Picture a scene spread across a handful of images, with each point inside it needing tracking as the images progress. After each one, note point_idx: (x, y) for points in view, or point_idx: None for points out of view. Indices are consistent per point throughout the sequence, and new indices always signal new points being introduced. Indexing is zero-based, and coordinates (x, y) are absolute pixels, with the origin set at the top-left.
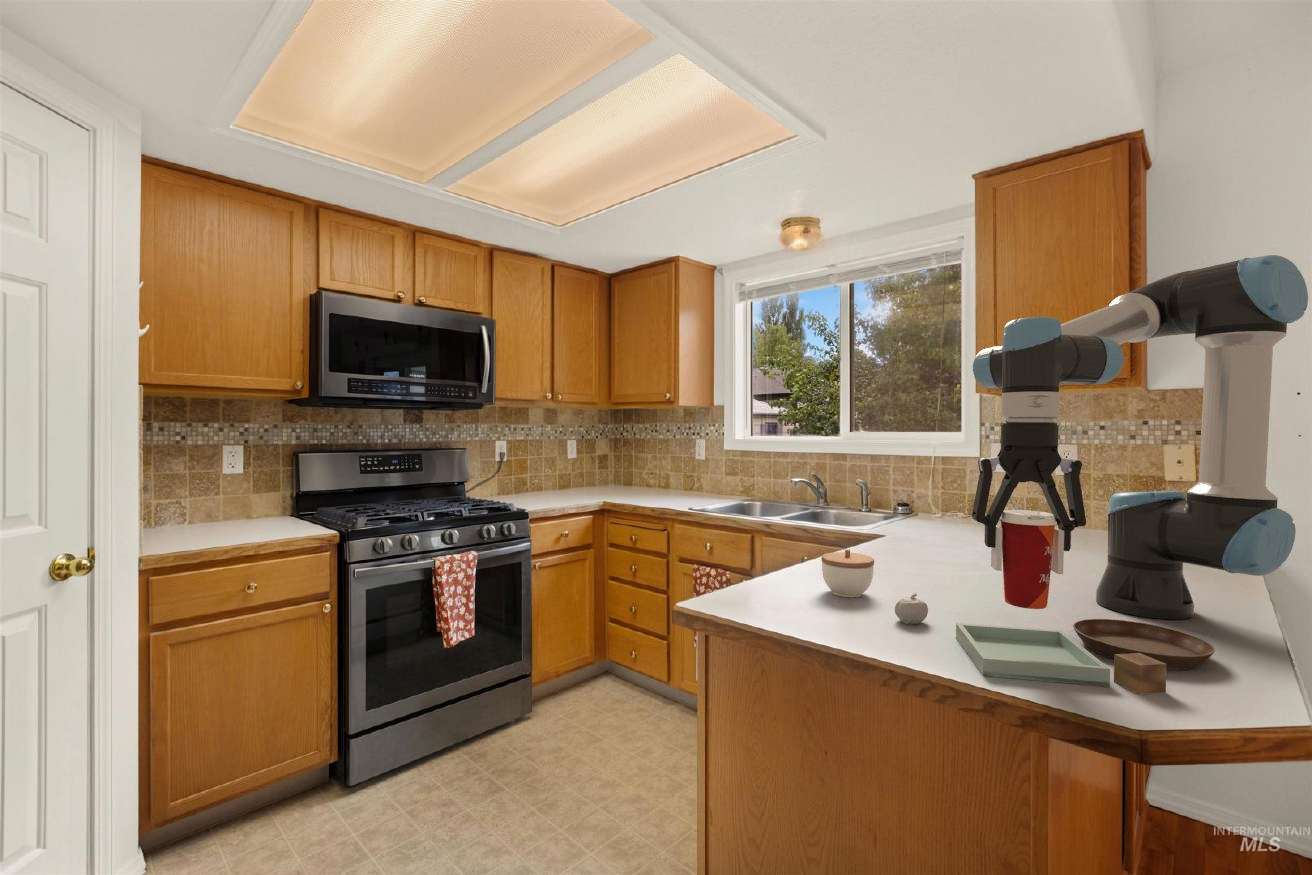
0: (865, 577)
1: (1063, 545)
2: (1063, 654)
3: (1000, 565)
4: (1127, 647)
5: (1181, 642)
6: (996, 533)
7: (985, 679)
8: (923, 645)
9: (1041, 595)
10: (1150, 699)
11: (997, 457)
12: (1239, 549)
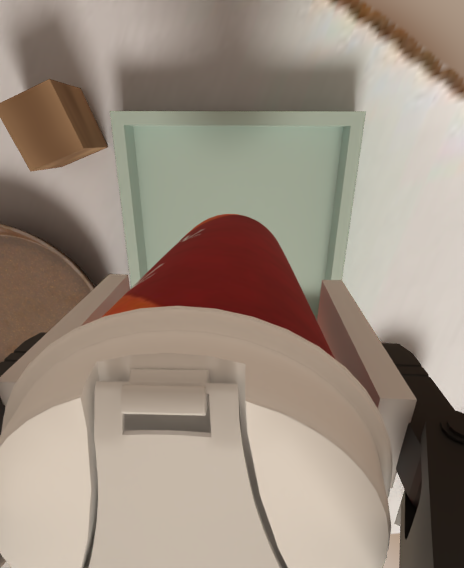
0: None
1: (51, 330)
2: (160, 254)
3: (330, 287)
4: (39, 321)
5: None
6: (399, 379)
7: (356, 93)
8: (410, 267)
9: (201, 224)
10: (68, 62)
11: None
12: None
